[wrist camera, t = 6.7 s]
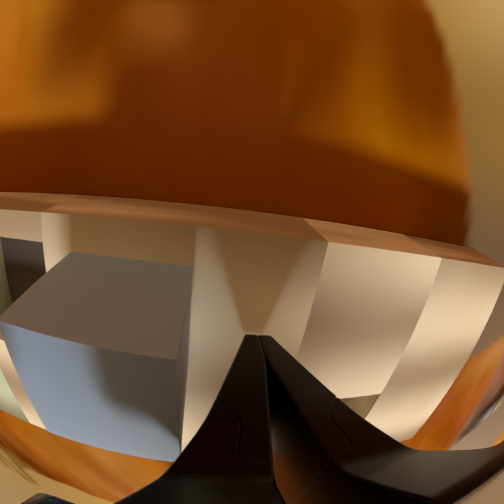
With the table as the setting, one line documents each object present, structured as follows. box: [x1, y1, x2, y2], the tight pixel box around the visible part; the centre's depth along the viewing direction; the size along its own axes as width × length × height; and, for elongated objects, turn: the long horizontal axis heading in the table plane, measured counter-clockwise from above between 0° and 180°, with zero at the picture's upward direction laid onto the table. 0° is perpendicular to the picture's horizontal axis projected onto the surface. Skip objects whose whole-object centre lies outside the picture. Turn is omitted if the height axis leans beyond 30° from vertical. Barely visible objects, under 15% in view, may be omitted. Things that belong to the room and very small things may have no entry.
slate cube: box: [0, 252, 194, 462], centre depth 7 cm, size 4×4×4 cm
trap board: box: [0, 192, 504, 453], centre depth 11 cm, size 13×30×4 cm, turn 81°
